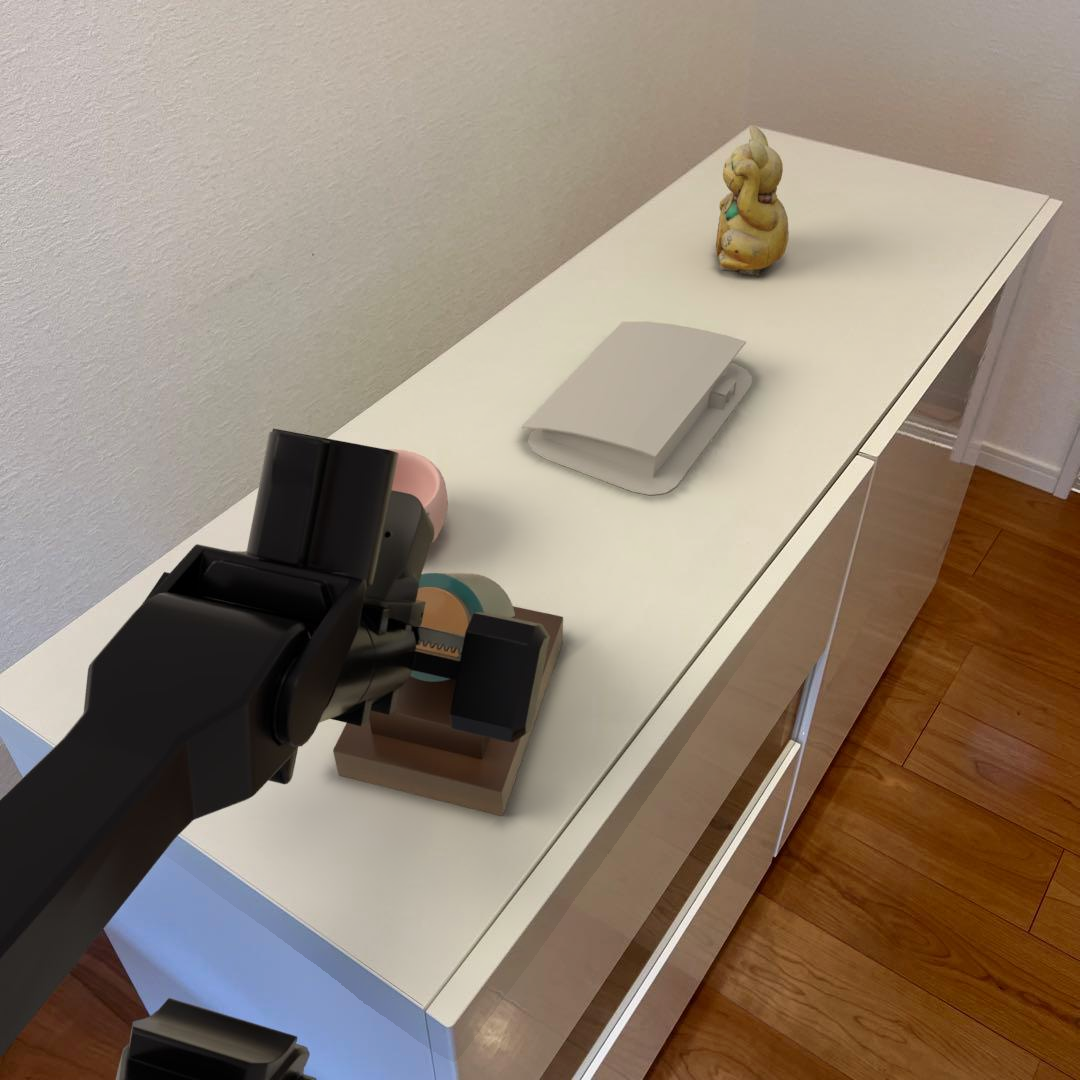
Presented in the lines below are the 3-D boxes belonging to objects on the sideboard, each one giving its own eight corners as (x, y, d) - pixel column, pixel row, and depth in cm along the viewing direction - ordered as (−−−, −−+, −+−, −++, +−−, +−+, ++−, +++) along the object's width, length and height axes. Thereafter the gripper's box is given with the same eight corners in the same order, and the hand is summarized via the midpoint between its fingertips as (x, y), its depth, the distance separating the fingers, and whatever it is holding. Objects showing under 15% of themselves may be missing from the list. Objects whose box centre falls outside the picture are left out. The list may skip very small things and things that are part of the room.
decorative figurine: (711, 238, 129) (727, 114, 119) (780, 242, 129) (802, 118, 118) (712, 280, 122) (729, 153, 112) (786, 284, 122) (809, 156, 111)
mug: (474, 535, 92) (471, 483, 88) (385, 596, 87) (377, 543, 83) (384, 471, 98) (377, 420, 94) (295, 525, 93) (284, 473, 89)
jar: (477, 750, 73) (471, 641, 65) (381, 727, 74) (363, 618, 66) (524, 629, 81) (523, 518, 73) (436, 610, 82) (425, 499, 74)
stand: (502, 816, 73) (500, 765, 69) (337, 775, 75) (326, 723, 71) (562, 642, 84) (564, 589, 80) (417, 610, 86) (411, 557, 82)
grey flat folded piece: (761, 372, 110) (766, 339, 107) (663, 503, 95) (667, 469, 93) (626, 329, 115) (628, 297, 112) (515, 447, 101) (514, 414, 98)
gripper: (540, 528, 49) (589, 537, 64) (172, 456, 53) (301, 481, 68) (493, 768, 49) (553, 720, 64) (129, 680, 53) (268, 655, 68)
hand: (416, 637), depth 66 cm, fingers open, 9 cm apart
